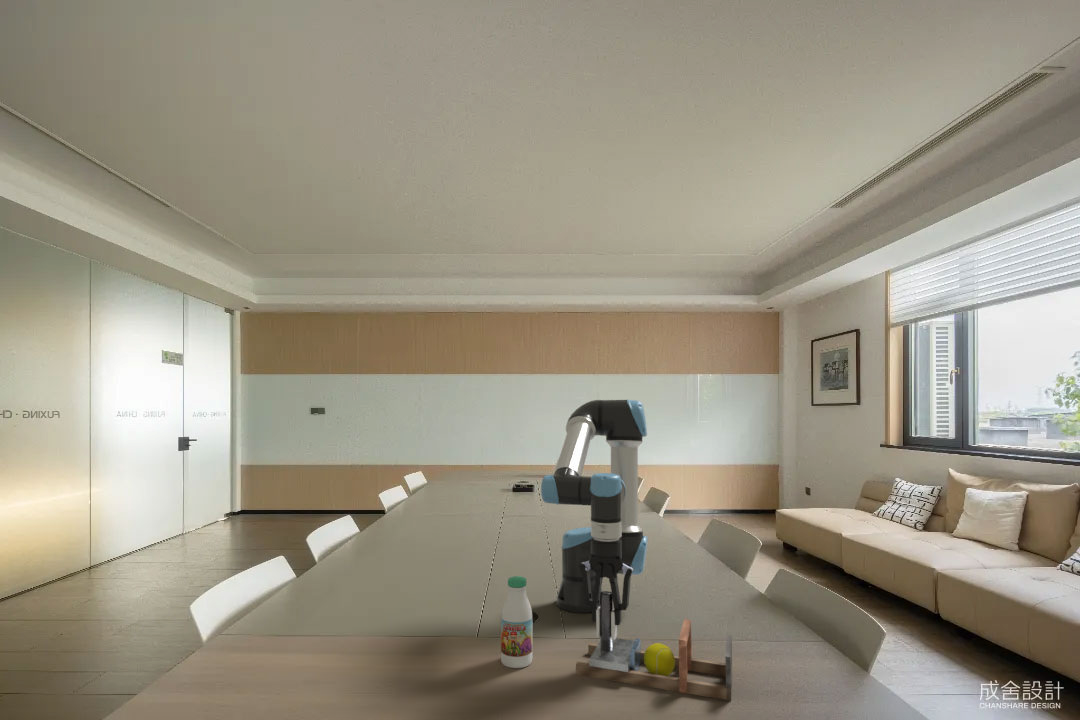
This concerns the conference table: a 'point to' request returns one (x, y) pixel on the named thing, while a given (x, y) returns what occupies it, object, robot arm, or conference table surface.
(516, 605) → the milk bottle
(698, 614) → the conference table surface
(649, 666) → the tennis ball
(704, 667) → the lane
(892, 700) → the conference table surface
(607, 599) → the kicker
